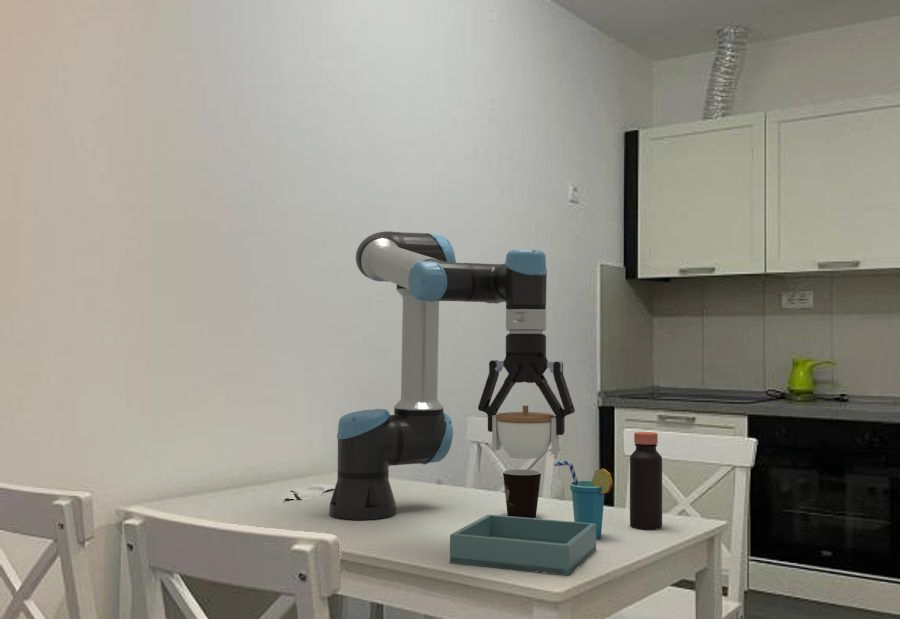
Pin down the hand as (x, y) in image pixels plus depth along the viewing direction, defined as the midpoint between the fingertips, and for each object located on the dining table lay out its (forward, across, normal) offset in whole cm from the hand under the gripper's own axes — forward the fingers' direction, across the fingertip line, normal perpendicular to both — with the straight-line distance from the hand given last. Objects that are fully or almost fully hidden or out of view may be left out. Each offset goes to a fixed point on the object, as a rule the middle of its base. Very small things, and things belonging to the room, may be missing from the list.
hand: (525, 451), depth 168 cm
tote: (+19, 0, 0) cm, 19 cm away
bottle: (+20, +16, +35) cm, 43 cm away
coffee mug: (+20, -12, +36) cm, 43 cm away
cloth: (+20, -71, +41) cm, 85 cm away
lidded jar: (+1, 0, 0) cm, 1 cm away
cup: (+20, +6, +21) cm, 29 cm away
